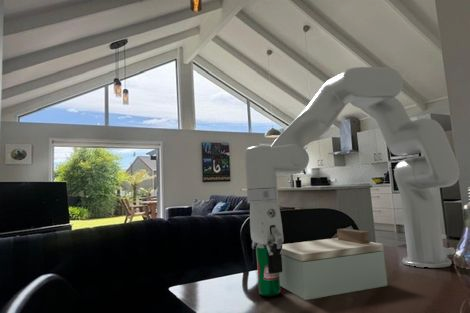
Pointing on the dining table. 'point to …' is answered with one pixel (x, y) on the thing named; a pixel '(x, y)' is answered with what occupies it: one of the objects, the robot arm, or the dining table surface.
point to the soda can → (266, 274)
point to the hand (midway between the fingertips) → (267, 268)
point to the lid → (332, 246)
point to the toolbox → (333, 274)
